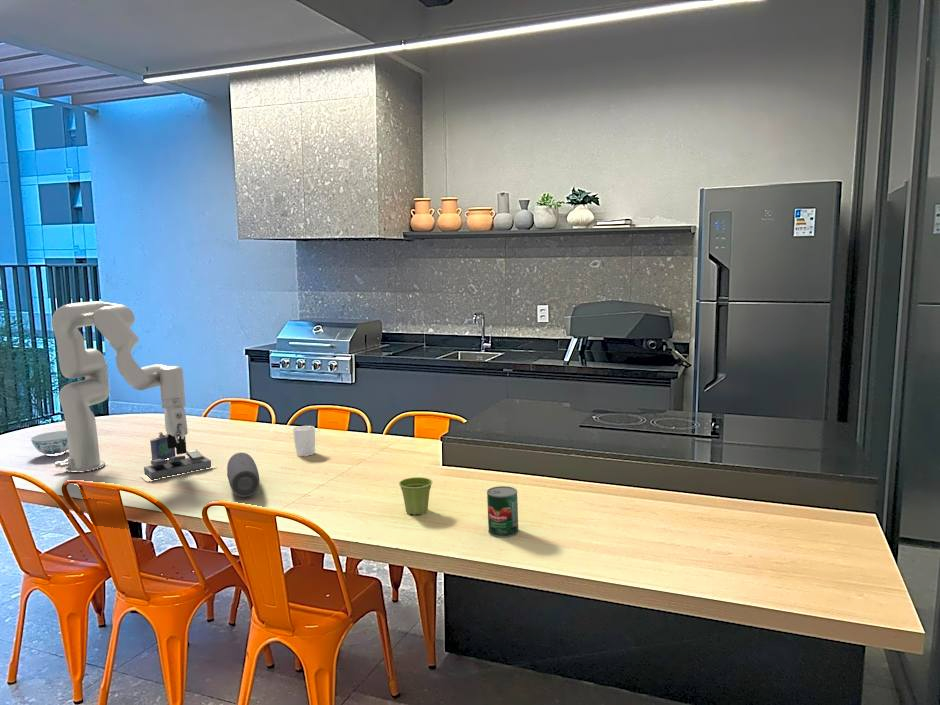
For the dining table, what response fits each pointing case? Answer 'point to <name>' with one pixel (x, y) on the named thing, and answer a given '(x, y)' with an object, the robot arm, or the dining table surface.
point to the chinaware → (51, 442)
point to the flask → (161, 448)
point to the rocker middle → (177, 458)
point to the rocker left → (159, 462)
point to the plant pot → (416, 494)
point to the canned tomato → (502, 511)
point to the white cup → (304, 440)
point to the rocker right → (194, 455)
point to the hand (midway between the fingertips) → (177, 450)
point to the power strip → (176, 468)
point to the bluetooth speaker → (242, 474)
